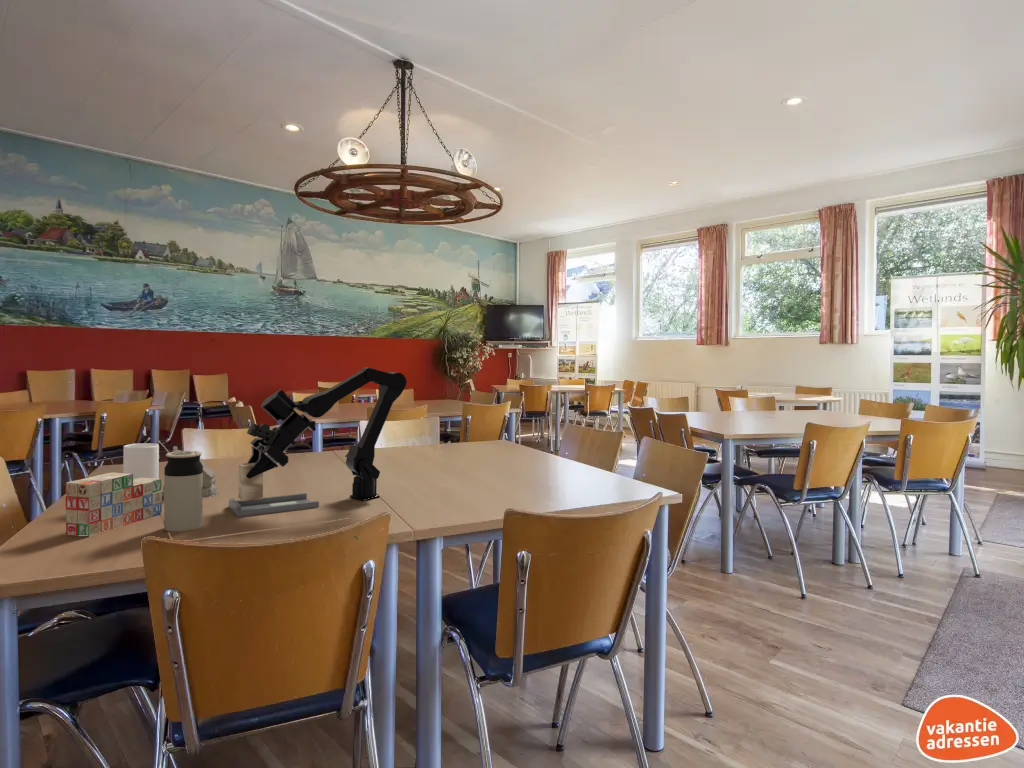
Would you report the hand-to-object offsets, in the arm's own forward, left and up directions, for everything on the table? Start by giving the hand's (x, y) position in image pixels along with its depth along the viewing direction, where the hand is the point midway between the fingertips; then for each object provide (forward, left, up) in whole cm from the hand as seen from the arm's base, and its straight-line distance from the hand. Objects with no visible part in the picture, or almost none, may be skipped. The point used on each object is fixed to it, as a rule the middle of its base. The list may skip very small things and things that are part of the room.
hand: (245, 475), depth 155 cm
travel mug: (+17, +3, -10) cm, 20 cm away
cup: (+13, -30, -10) cm, 34 cm away
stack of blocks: (+26, -12, -10) cm, 30 cm away
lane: (-7, +2, -10) cm, 12 cm away
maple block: (-1, 0, -6) cm, 6 cm away
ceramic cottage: (-2, -32, -10) cm, 34 cm away
